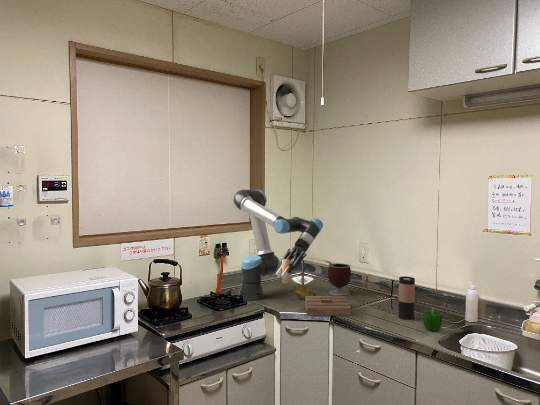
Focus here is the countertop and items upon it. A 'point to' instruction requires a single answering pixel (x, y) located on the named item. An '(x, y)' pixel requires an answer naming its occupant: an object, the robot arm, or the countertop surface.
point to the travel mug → (406, 297)
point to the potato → (303, 291)
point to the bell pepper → (432, 320)
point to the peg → (284, 265)
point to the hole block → (327, 305)
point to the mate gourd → (339, 277)
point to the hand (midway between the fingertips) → (280, 276)
